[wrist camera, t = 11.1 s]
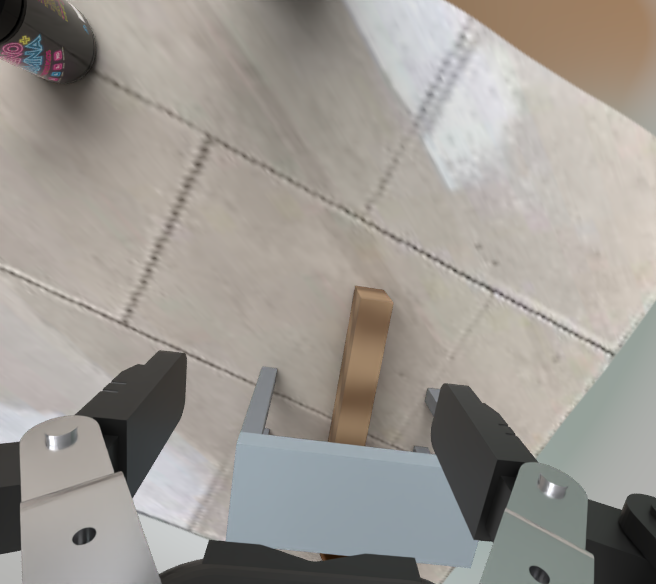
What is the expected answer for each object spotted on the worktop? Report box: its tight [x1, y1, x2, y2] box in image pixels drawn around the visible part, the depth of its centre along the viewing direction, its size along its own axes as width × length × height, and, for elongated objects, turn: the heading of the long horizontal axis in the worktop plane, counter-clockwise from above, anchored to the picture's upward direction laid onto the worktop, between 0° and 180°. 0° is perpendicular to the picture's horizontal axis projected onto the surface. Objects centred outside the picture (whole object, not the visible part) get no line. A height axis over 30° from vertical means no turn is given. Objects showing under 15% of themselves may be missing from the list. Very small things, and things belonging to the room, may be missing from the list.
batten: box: [328, 286, 393, 446], centre depth 39 cm, size 19×3×6 cm, turn 171°
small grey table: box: [226, 367, 479, 568], centre depth 36 cm, size 9×20×14 cm, turn 81°
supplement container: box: [0, 0, 96, 84], centre depth 28 cm, size 7×7×10 cm
